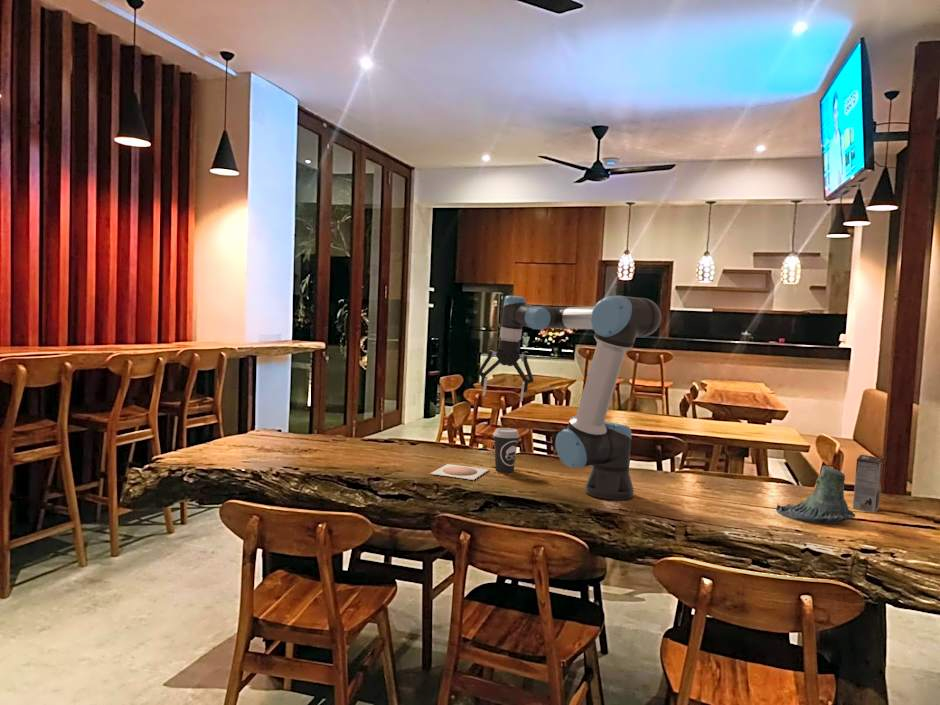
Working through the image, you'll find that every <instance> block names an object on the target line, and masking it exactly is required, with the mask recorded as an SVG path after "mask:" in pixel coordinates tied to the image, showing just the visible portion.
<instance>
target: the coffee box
mask: <svg viewBox="0 0 940 705" xmlns="http://www.w3.org/2000/svg"><path fill="white" fill-rule="evenodd" d="M883 463H884V458H883V457H877V456H872V455H865V454H860V455H859V456H858V457H857V458H856V464H855V465H856V466H855V467H856V468H855V479H854V488H853V490H854V491H853V500H852V510H857V511H860V512H861V511H862V512H867V513H872V514H876V513H877V511H878V509H879V508H880V506H881V505H880V504H881V492H882V491H881V490H882V476H883V467H884V466H883Z"/></svg>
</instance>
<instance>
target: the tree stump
mask: <svg viewBox="0 0 940 705" xmlns="http://www.w3.org/2000/svg"><path fill="white" fill-rule="evenodd" d="M845 480H846V475H845V473H843V472H842V471H841V470H838V469H836V468H833V467H831V466H826V465H822V467H821V472H820V475H819V478H818V479H817V478H816V483H817V484H816V486H815V489H814V491H813V492H812V493H810V494H809V495H808V497H806V499H804V500H803V501H801V502H798V503H797V504H790V503H789V504H788V505H779V504H777V505H776V510H775V511H776V512H777V513H778V514H779V515H781V516H783V517H786V518H788V519H791V520H794V521H797V522H798V521H799V522H803V523H812V524H822V525H839V524H840V523H842V522H845V521H847V520H851V519H855V517H856V513H854V512H853V511H852V510H850V509H849V505H848V503H847V501H846V499H845V495H844V494H845Z"/></svg>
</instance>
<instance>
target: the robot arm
mask: <svg viewBox="0 0 940 705" xmlns="http://www.w3.org/2000/svg"><path fill="white" fill-rule="evenodd" d="M526 302H527V299H526V297H523V296H518V295H506V296H505V297H504V302H503V305H502V315H501V316H502V317H501V325H500V333H499V337H500V338H499V340H498V348H497V351H494V350H493V349H490V350H489V351H488V354H487V357H486V359H485V360H484V362H483V363H482V365H481V366H480V367H479V369H478V371H476V374H477V375H478V376H480V377H481V379H480V386H481V387H483V389H482V396H483V397H484V396H486V393H487V385H488V376H487V375H488V374H490V373H491V372H492V371H493V370H494V369H495V368H496V367H497V366H499V365H501V366H508V367H513V368H514V369H515V370H516V372H517V373H518V374H519V376H520V378H521V379H522V381H523V382H522V385H521V392H520V397H519V402H523V400H524V393H527V391H528V389H529V388H528V387H529V384H530V383H531V384H532V383H534V379H535V378H534V377H533V374H532V370H531V367H530V364H529V362H528V355H527V354H524V355H521V354H520V350H521V349H520V348H521V339H522V333H523V327H527V328H529V329H532V330H539V331H540V330H541V331H542V330H544V329H554V330H555V329H556V330H558V329H559V330H592V331H593V332H594V334H593V338H594V339H595V342H596V347H595V350H594V352H593V353H594V354H593V357H592V360H591V363H590V368H589V370H588V373H587V377H586V380H585V384H584V387H583V390H582V394H581V397H580V400H579V404H578V408H577V410H576V411H577V412H576V414H575V415H574V416H571V418H570V419H569V421H568V424H567V428H564V429H562V430H561V431H559V432H558V433H557V434H556V437H555V450H556V453H557V456H558V458H559V460H560V461H561V462H562V463H563V464H564V465H566V467H568V468H583V467H590V466H591V471H590V473H589V476H588V478H587V480H586V483H585V491H586V492H585V493H586V494H587V493H588V494H589V496H590V495H592V496H591V497H593V496H595V497H594V498H596V497H598V498H597V499H600V498H603V499H602V500H606V499H614V500H613V501H626V500H625V499H628V500H631V499H633V498H634V492H635V491H634V486H633V482H632V477H631V475H630V464H631V451H632V450H631V449H632V440H633V439H632V429H631V428H630V426H629V425H626V424H620V423H617V422H610V421H605V420H606V417H607V414H608V412H609V408H610V404H611V401H612V398H613V395H614V391H615V388H616V385H617V381H618V378H619V375H620V372H621V368H622V365H623V362H624V359H625V355H626V352H627V351H629V350H631V349H632V348H633V347H634V344H635V341H636V338H643V337H647V336H650V335H652V334H654V333H655V332H656V331H657V330H658V328H659V326H660V325H661V322H662V313H661V310H660V307H659V306H658V305H657V304H656V302H654V301H653V300H652V299H649V298H646V297H634V296H626V295H620V294H619V295H609V296H608V295H607V296H605V297H603V298H602V299H600V300H599V301H598V302H596V304H595V306H566V307H565V306H564V307H563V306H559V307H558V306H545V305H532V304H527V303H526ZM494 356H495V357H496V358H497V360H496V361H495V362H494V363H493V364H492V365H490V366H489V367H488V369H486V370H485V368H486V367H487V365H488V363H489V362H490V361H491V359H492V358H494ZM519 360H521V362H523V365H524V369H525V371H526V373H527V374H525V373H524V370H522V368H521V366H520V364H519V363H518V361H519ZM484 370H485V371H484ZM526 375H527V376H526ZM527 377H528V378H527ZM588 494H587V495H588ZM632 497H633V498H632ZM630 498H631V499H630Z"/></svg>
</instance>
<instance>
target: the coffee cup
mask: <svg viewBox="0 0 940 705" xmlns="http://www.w3.org/2000/svg"><path fill="white" fill-rule="evenodd" d="M492 436H493V439H494V440H493V441H494V464H495V466H494V467H495V472H496V471H497V473H499V472H502V473H501V474H513V473H514V471H515V464H516V456H517V447H518V442H519V438H520V433H519V431H518V430H517V429H516V428H509V427H499V428H495V430H494V432H493V434H492Z"/></svg>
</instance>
